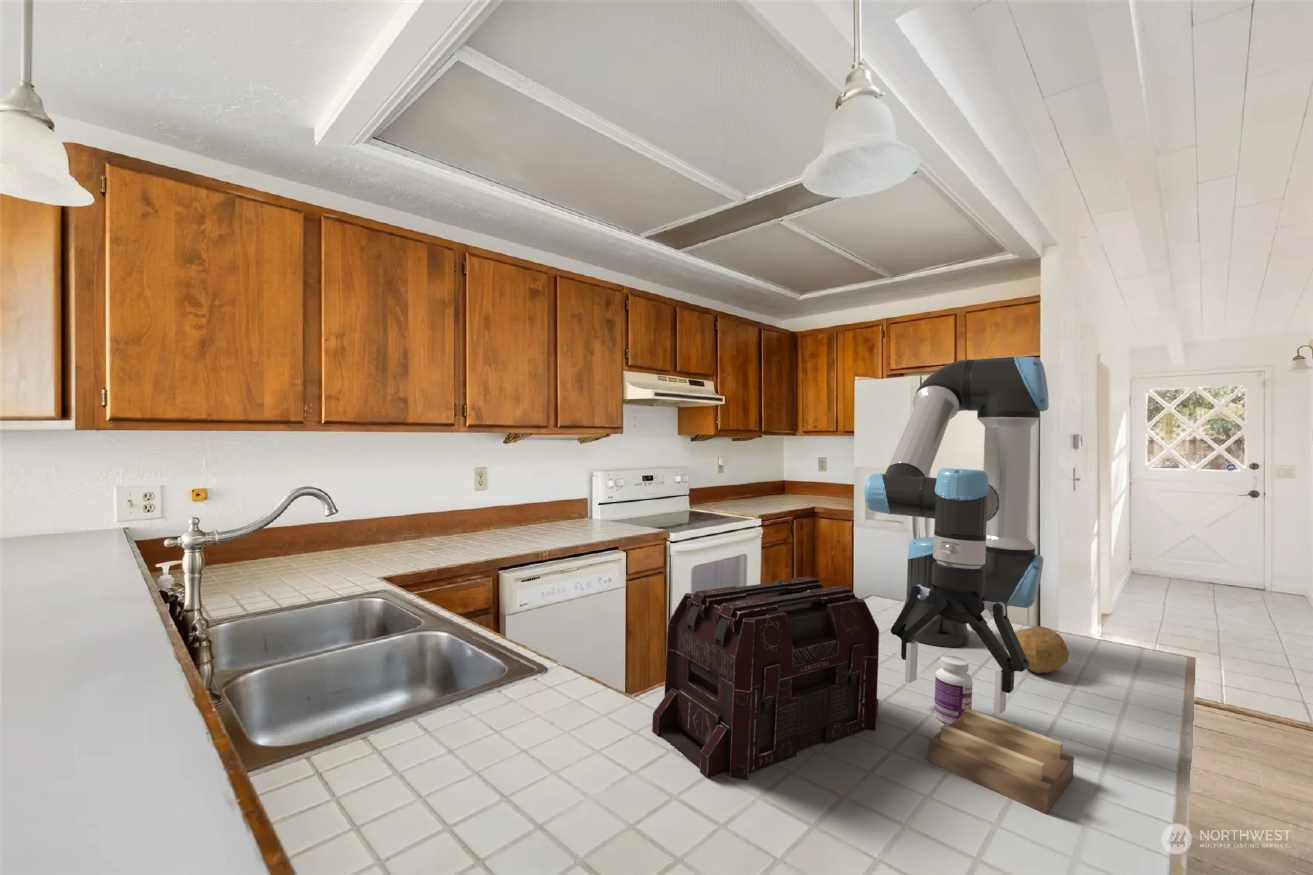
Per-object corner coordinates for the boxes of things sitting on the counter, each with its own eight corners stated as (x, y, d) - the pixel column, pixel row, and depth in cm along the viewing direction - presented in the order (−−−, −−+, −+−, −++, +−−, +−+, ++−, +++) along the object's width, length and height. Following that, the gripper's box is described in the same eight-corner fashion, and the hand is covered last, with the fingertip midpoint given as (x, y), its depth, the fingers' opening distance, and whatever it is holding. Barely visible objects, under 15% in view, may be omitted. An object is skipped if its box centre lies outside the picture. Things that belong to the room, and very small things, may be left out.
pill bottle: (970, 731, 87) (972, 669, 87) (932, 721, 90) (934, 660, 90) (971, 717, 92) (974, 658, 92) (935, 708, 95) (938, 651, 95)
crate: (720, 791, 70) (728, 623, 70) (642, 723, 85) (648, 586, 86) (893, 724, 89) (898, 592, 89) (802, 679, 104) (807, 567, 105)
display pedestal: (928, 761, 78) (929, 726, 78) (962, 734, 86) (963, 703, 86) (1046, 814, 68) (1048, 774, 68) (1073, 778, 76) (1074, 742, 76)
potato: (997, 670, 113) (999, 630, 113) (1020, 655, 122) (1021, 618, 122) (1055, 687, 105) (1057, 645, 106) (1075, 670, 115) (1076, 631, 115)
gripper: (874, 552, 98) (868, 674, 98) (1041, 582, 79) (1035, 734, 79) (894, 548, 103) (889, 665, 103) (1056, 577, 84) (1050, 719, 84)
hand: (952, 695), depth 91 cm, fingers open, 13 cm apart
